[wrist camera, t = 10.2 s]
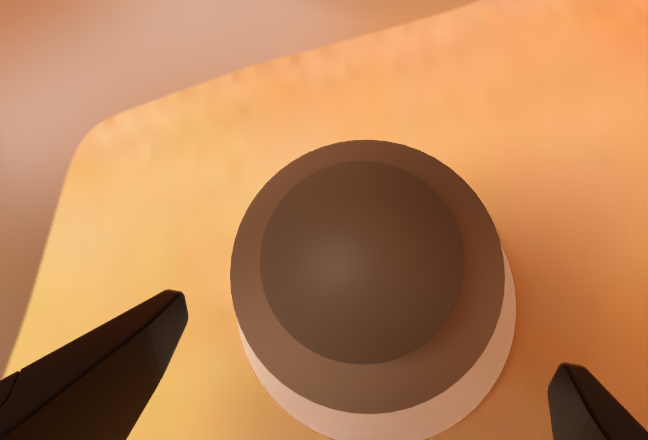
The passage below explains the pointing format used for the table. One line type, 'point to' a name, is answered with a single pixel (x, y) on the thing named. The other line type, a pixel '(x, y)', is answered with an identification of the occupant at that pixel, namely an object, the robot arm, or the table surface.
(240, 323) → the pepper mill
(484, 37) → the table surface
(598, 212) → the table surface
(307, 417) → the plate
